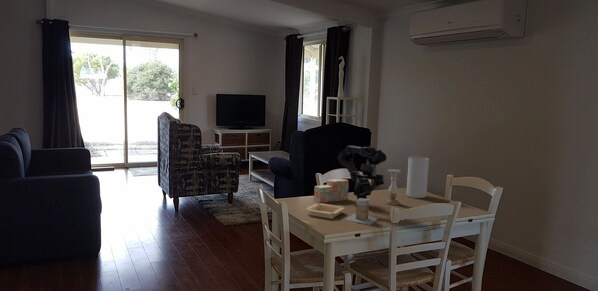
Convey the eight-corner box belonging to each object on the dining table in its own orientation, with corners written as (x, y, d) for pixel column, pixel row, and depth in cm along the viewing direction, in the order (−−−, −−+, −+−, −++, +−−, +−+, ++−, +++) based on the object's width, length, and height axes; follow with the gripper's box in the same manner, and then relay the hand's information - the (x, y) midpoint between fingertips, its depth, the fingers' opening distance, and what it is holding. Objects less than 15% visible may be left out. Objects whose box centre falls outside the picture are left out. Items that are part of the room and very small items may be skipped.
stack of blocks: (319, 203, 267) (320, 182, 266) (313, 201, 273) (314, 180, 271) (348, 199, 279) (348, 180, 278) (341, 197, 284) (342, 178, 283)
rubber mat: (353, 214, 245) (353, 213, 245) (379, 218, 239) (379, 217, 239) (344, 220, 232) (344, 219, 232) (370, 225, 226) (370, 224, 226)
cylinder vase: (415, 193, 303) (417, 156, 300) (430, 197, 293) (432, 158, 290) (402, 195, 295) (404, 157, 292) (417, 199, 285) (420, 160, 282)
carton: (317, 208, 254) (317, 202, 254) (345, 213, 246) (346, 207, 246) (303, 215, 239) (303, 209, 238) (333, 221, 231) (334, 214, 231)
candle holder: (390, 205, 267) (392, 171, 265) (382, 202, 275) (384, 169, 273) (402, 204, 270) (404, 171, 268) (394, 201, 278) (396, 168, 276)
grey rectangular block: (358, 216, 239) (359, 198, 238) (368, 218, 237) (369, 199, 235) (355, 218, 234) (356, 200, 233) (364, 220, 232) (365, 201, 231)
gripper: (351, 156, 252) (343, 179, 243) (384, 160, 243) (377, 183, 235) (355, 168, 260) (348, 191, 251) (387, 172, 251) (380, 195, 243)
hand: (363, 190), depth 245 cm, fingers open, 9 cm apart
